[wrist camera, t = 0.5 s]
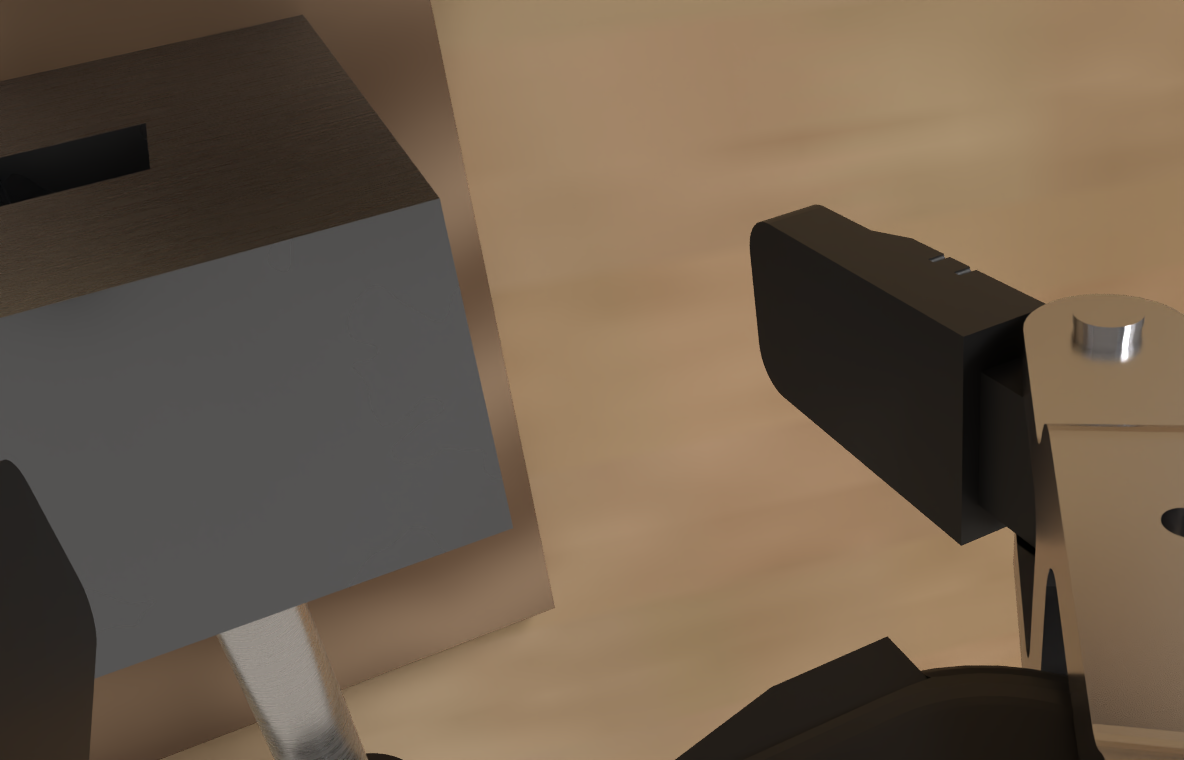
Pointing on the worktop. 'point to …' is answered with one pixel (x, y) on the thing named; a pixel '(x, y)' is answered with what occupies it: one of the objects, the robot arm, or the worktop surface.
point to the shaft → (293, 688)
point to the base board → (429, 137)
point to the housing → (230, 337)
